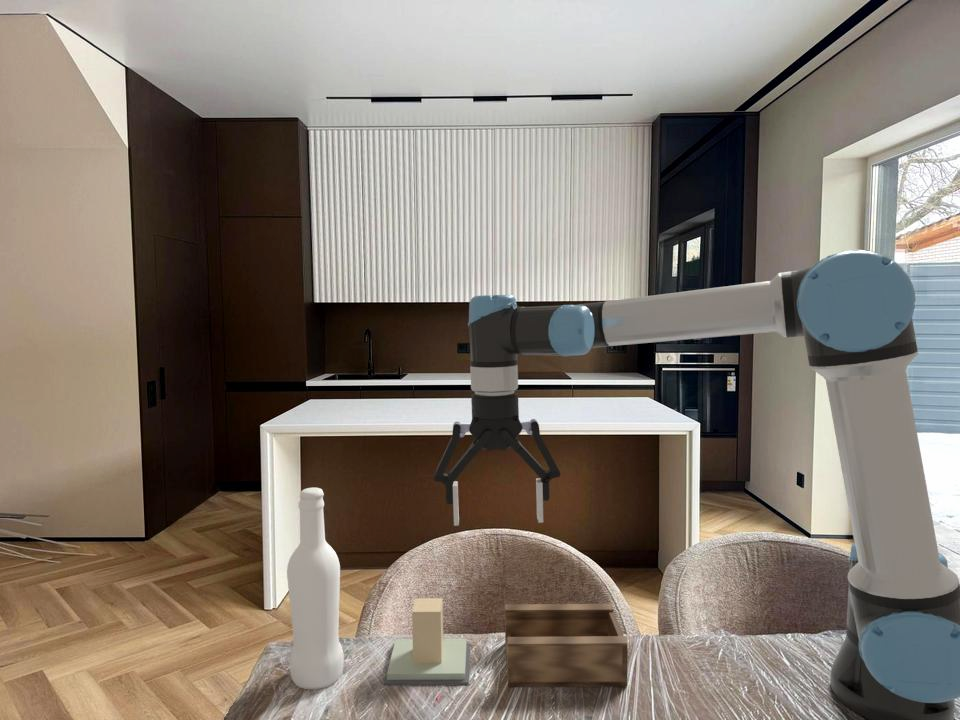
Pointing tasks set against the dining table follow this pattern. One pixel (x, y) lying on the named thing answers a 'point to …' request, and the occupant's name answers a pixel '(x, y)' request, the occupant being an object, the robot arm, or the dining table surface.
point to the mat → (433, 682)
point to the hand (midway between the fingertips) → (498, 521)
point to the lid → (428, 648)
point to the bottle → (314, 600)
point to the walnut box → (564, 646)
